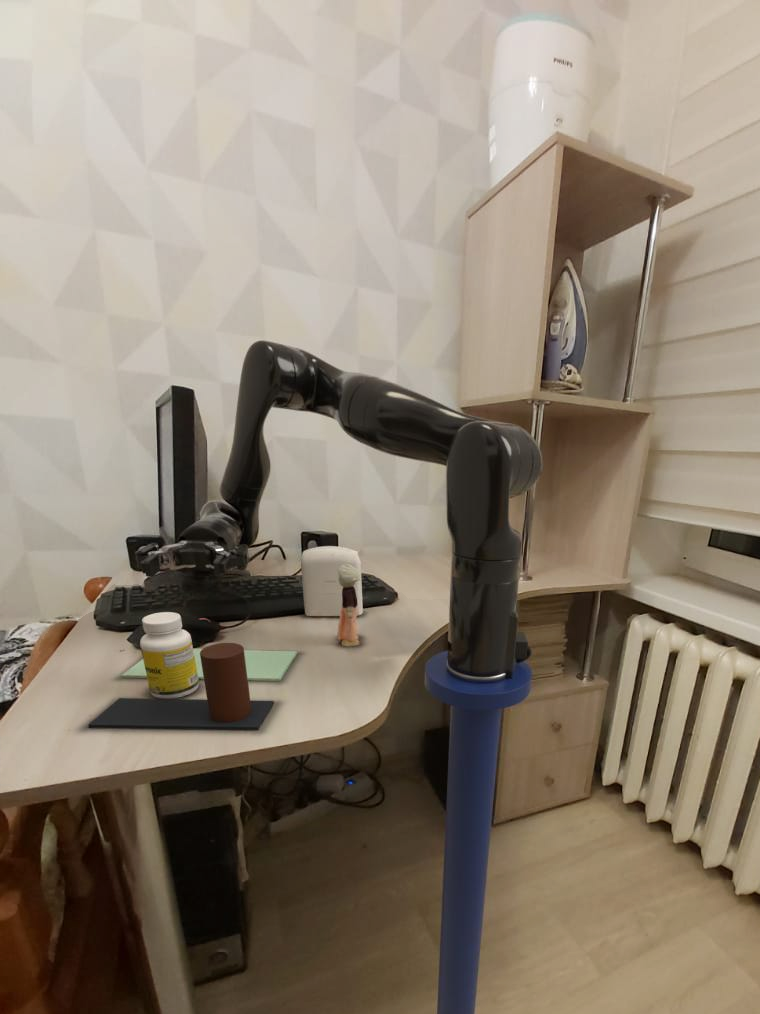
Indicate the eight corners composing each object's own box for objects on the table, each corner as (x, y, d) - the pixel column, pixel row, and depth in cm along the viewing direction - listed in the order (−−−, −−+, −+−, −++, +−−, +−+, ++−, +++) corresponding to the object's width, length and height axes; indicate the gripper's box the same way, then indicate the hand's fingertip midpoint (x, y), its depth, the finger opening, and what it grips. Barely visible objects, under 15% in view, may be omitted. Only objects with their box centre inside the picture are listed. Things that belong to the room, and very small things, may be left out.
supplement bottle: (144, 688, 65) (128, 615, 61) (190, 676, 68) (178, 606, 65) (158, 705, 61) (143, 628, 58) (206, 691, 65) (194, 618, 61)
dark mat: (274, 703, 63) (273, 700, 63) (258, 730, 58) (257, 727, 58) (120, 700, 62) (119, 697, 62) (88, 727, 56) (87, 724, 56)
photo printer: (302, 617, 91) (297, 548, 86) (306, 609, 95) (301, 543, 90) (362, 618, 93) (360, 550, 88) (363, 610, 97) (361, 544, 92)
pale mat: (297, 653, 77) (297, 651, 77) (279, 681, 69) (279, 678, 69) (157, 650, 75) (156, 647, 75) (122, 677, 67) (121, 675, 67)
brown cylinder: (256, 703, 62) (249, 643, 59) (243, 723, 58) (235, 659, 55) (218, 703, 62) (209, 642, 59) (203, 722, 58) (192, 657, 55)
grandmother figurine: (334, 634, 85) (330, 559, 80) (357, 632, 86) (355, 558, 81) (341, 653, 78) (338, 572, 73) (367, 650, 80) (365, 571, 75)
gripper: (157, 519, 81) (117, 541, 67) (254, 521, 85) (236, 543, 70) (165, 565, 84) (128, 596, 70) (258, 565, 88) (242, 595, 73)
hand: (182, 569), depth 70 cm, fingers open, 8 cm apart
